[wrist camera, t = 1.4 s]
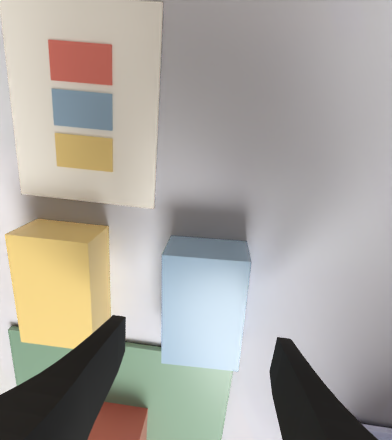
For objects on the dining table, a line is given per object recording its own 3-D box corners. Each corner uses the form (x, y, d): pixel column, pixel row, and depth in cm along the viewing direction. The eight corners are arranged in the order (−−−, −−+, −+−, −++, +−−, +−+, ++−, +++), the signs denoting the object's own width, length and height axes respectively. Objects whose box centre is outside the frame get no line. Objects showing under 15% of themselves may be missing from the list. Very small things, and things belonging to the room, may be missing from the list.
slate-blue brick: (246, 239, 16) (251, 262, 14) (235, 335, 19) (238, 371, 16) (172, 233, 17) (161, 255, 14) (170, 328, 19) (161, 363, 16)
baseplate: (234, 357, 19) (234, 362, 18) (209, 501, 24) (209, 507, 24) (12, 325, 20) (7, 329, 19) (33, 471, 25) (30, 476, 24)
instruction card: (163, 3, 13) (161, 0, 13) (154, 208, 16) (153, 209, 16) (1, -8, 13) (-4, -11, 13) (23, 193, 17) (19, 194, 16)
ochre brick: (110, 224, 17) (87, 243, 14) (112, 318, 19) (93, 351, 16) (40, 217, 17) (4, 234, 14) (50, 311, 19) (21, 341, 17)
